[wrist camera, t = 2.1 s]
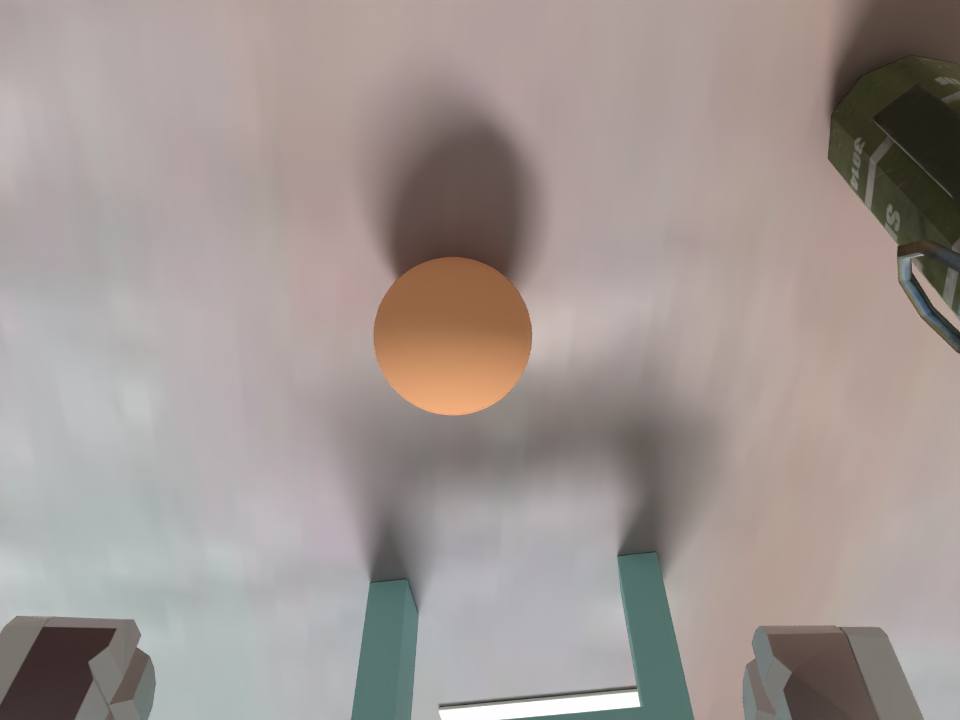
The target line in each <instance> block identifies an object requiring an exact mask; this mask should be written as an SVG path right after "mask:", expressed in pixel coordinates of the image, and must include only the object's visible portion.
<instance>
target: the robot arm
mask: <svg viewBox="0 0 960 720" xmlns="http://www.w3.org/2000/svg"><path fill="white" fill-rule="evenodd" d="M140 637H141V634H140V632H139V629H138V627H137V625H136V623H135V621H134V620H133V619H103V618H73V617H44V616H16V617H15V618H14V619H13V620H11V621H10V622H9V623H8V624H7V625H6V626H5V627H4V628H3V630H2V631H1V633H0V720H148V717H149V715H150V712H151V709H152V705H153V699H154V692H155V685H156V682H155V672H154V666H153V664H152V661H151V658H150V656H149V655H147V654H146V653H144V652H143V651H141V650H140V649H138V648H137V647H136V646H137V644H138V642H139V639H140ZM752 646H753V650H754V654H755V659H754V660H752V661H751V662H749V663H748V664H747V665H746V668H745V673H744V678H743V708H744V715H745V720H924V718H923V716H922V714H921V711H920V709H919V707H918V704H917V702H916V700H915V697H914V695H913V693H912V691H911V688H910V686H909V684H908V681H907V679H906V677H905V674H904V672H903V670H902V668H901V665H900V663H899V661H898V658H897V656H896V654H895V651H894V649H893V647H892V645H891V642H890V640H889V638H888V635H887V634H886V633H885V632H884V631H883V630H882V629H881V628H879V627H836V626H759V627H758V628H757V629H756V631H755V633H754V637H753V641H752Z"/></svg>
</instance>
